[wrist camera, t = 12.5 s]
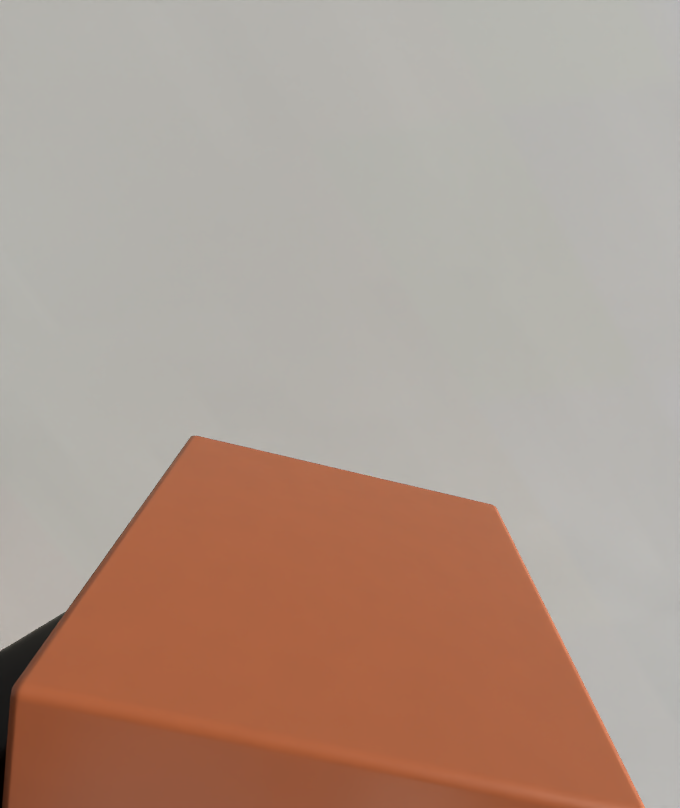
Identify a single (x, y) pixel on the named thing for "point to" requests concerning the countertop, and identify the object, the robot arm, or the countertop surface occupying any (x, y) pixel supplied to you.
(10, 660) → the robot arm
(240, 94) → the countertop surface
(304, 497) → the block
